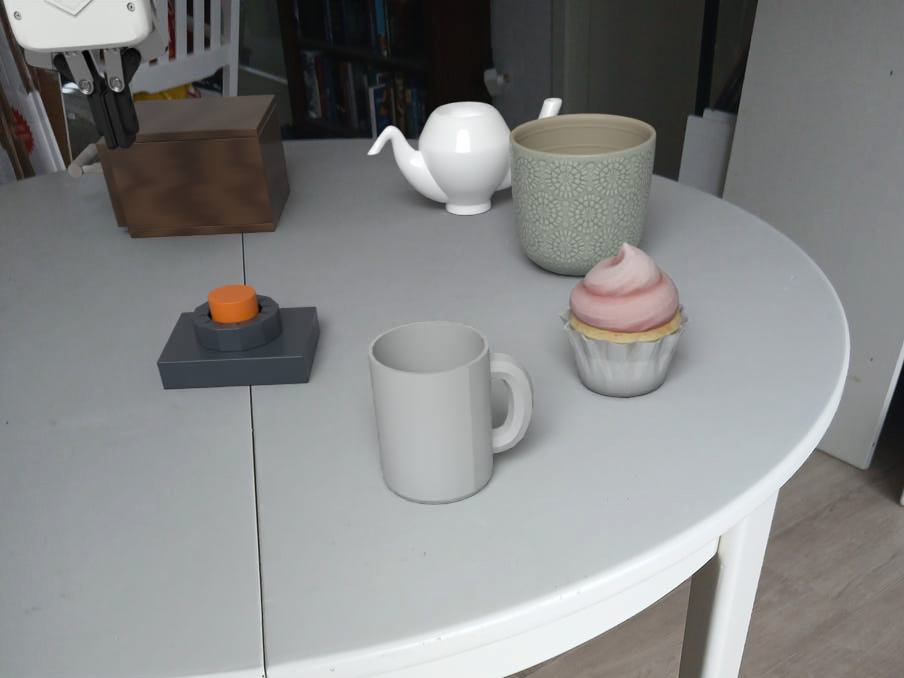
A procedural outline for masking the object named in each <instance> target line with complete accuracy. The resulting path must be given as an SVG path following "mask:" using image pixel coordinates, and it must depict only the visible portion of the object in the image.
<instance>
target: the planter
mask: <svg viewBox="0 0 904 678" xmlns="http://www.w3.org/2000/svg"><path fill="white" fill-rule="evenodd" d="M656 142H657V132H656V129H655V128H654V127H653V126H652V125H651V124H649V123H647V122H645V121H642V120H639V119H637V118H633V117H629V116H623V115H616V114H607V113H569V114H568V113H567V114H560V115H559V114H558V115H557V116H551V117H545V118H541V119H538V118H537V119H532V120H530V121H527V122H525V123H522V124H520V125H518V126H516V127H515V128H514V129H512V130H511V133H510V135H509V157H510V173H511V185H512V186H511V194H512V204H513V213H514V214H513V215H514V221H515V228H516V235H517V239H518V242H519V245H520V247H521V248H522V251H523V252H524V253H525V255H526V256H527V257H528V258H529V259H530V261H532V262H534V263H535V264H536V265H538V266H539V267H541V268H542V269H544V270H546V271H548V272H551V273H554V274H558V275H564V276H574V277H575V276H576V277H579V276H580V277H581V276H586V274H587V273H588V272H589V271H590V270H591V269H592V268H593V267H594V266H595V265H596V264H598V263H599V262H600V261H602V260H604V259H606V258H609V257H614V256H618V253H619V250H620V249H621V247H622V245H623V243H628V244H630V245H632V246H634V247H637V248H638V246H639V244H640V241H641V239H642V236H643V232H644V227H645V224H646V223H645V222H646V218H647V212H648V206H649V201H650V192H651V186H652V180H653V172H654V165H655V154H656V144H657V143H656Z"/></svg>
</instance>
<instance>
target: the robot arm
mask: <svg viewBox="0 0 904 678" xmlns="http://www.w3.org/2000/svg"><path fill="white" fill-rule="evenodd" d="M2 1H3V4H4V9H5V12H6V16H7V19H8V21H9V25H10V28H11V30H12V33H13V35H14V38H15V41H16V42H17V43H18V45H19V46H21V47H22V48H23V50H24V51H23V52H24V60H25V62H26V63H27V64H28V65H30V66H32V67H37V68H40V69H45V70H46V69H47V70H55V71H58V72H59V73H60V74H62V75H63V76H64V77H66V79H68V80H69V81H70V82H72V83H73V84H74V85H76V87H77V89H78V90H79V92H80V93H81V94H84V95H86V98H87V101H88V105H89V108H90V112H91V115H92V118H93V122H94V125H95V129H96V132H97V134H98V136H100V137H103V136H104V137H105V141H106V144H107V147H108V149H109V150H113V149H116V148H117V147H121V148H122V149H126V148H130V146H131V145H132V144H133V143H134V141H135V140H136V133H138V132H139V122H138V118H137V114H136V111H135V107H134V103H135V102H134V99H133V96H132V92H131V89H130V88H131V87H130V83H131V82H132V80H133V78H134V76H135V74H136V72H137V71H138V69H139V67H140V66H141V65H143V64H146V63H148V62H151V61H153V60H156V59H158V58H161V57H163V56H164V55H165V54H167V52H168V51H169V43H168V41H167V39H166V36H165V33H163V30H162V27H161V25H160V12H159V6H158V2H157V0H2ZM92 50H103V57H104V64H105V71H106V72H105V73H106V79H107V81H106V80H105V78H104V77H103V75H102V73H101V70H100V68H99V66H98V64H97V62H96V58H95V56H94V54H93V51H92Z"/></svg>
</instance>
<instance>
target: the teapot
mask: <svg viewBox="0 0 904 678" xmlns="http://www.w3.org/2000/svg"><path fill="white" fill-rule="evenodd" d="M562 104H563V100H562V99H561V98H559V97H550V98H546V99H545V100H543V104H542V107H541V110H540V113H539V115H538V117H537V119H541V118H545V117H551V116H558V115H559V112H560V110H561V109H562V108H561V107H562ZM511 132H512V130H511V129H510V128H509V126H508V124H507V122H506V121H505V119H504V117H503V115H501V113H500V111H499V110H498V109H497V108H495V106H493V105H491V104H488V103H485V102H481V101H458V102H452V103H447V104H443V105H440V106H438V107H436V108H435V109H434V110H433V111H432V112H431V113H430V115H429V116H428V118H427V120H426V122H425V124H424V126H423V129H422V131H421V132H420V135H419V138H418V141H417V149H414V148H413V147H412V146H411V145H410V143H408V141H407V139H406V137H405V136H404V134H403V133H402V131H401V130H400V129H399V128H398V127H396V126H394V125H388V126H386V127H385V128H384V129H383V131H382V132H381V133H380V134H379V136H378V137H377V139H376V140H375V141H374V143H373V145H372V146H371V147H370V149H369V150H368V152H367V153H366V154H367V155H368V156H373V155H377V154H380V153H381V152H382V150H383V148H384V146H385V145H386V143H387V142H388V141H390V142H391V146H392V151H393V155H394V156H393V157H394V159H395V163H396V165H397V167H398V169H399V171H400V172H401V174H402V175H403V177H404V178H405V179H406V181H407V182H408V183H409V185H410V186H411V187H412V188H414V189H415V191H416V192H417V193H419V194H421V195H422V196H424V197H426V198H427V199H429V200H431V201H434V202H437V203H441V204H445V210H446V212H448V213H451V214H453V215H457V216H475V215H479V214H483V213H486V212H488V211H490V209H491V208H492V202H491V198H492V196H493V195H494V194H495V192H499V191H503V190H507V189H509V188H511V187H512V185H511V173H510V157H509V135H510V133H511Z"/></svg>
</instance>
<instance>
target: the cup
mask: <svg viewBox="0 0 904 678" xmlns="http://www.w3.org/2000/svg"><path fill="white" fill-rule="evenodd" d="M489 342H490V341H489V339H488V337H487V335H485V334H484V332H482V331H481V330H479V329H478V328H476V327H473V326H471V325H468V324H465V323H460V322H455V321H449V320H425V321H423V320H422V321H416V322H409V323H404V324H401V325H397V326H395V327H392V328H389V329H387V330H385V331H383V332H381V333H379V334H378V335H377V336H376V337H375V338H373V339H372V340H371V342H370V343H369V345H368V347H367V356H368V357H367V358H368V366H369V375H370V382H371V383H370V384H371V390H372V400H373V406H374V407H373V408H374V415H375V416H374V417H375V424H376V431H377V440H378V449H379V456H380V466H381V471H382V477H383V480H384V481H385V483H386V485H387V487H389V489H390V490H391V491H392V492H394V493H395V494H396V495H397V496H398V497H401V498H403V499H404V500H406V501H410V502H413V503H418V504H426V505H443V504H449V503H450V504H451V503H454V502H459V501H463V500H465V499H467V498H470V497H472V496H474V495H475V494H477V493H479V492H480V491H481V490H482V489H483V488H484V487H485V485H486V484H488V482H489V481H490V479H491V478H492V474H493V471H494V454H498V453H503V452H505V451H507V450H509V449H511V448H514V447H515V446H516V445H517V444H519V442H520V441H521V440H522V439H523V438H524V436H525V434H526V432H527V430H528V428H529V426H530V423H531V419H532V415H533V410H534V388H533V383H532V379H531V376H530V374H529V371H527V368H526V366H525V365H524V364H523V363H522V362H521V361H520V360H519V359H517V358H516V357H514V356H513V355H512V354H511V355H510V354H506V353H502V352H490V343H489ZM496 379H501V380H502V382H503V384H504V386H505V388H506V391H507V397H508V409H507V415H506V417H505V420H504V421H503V422H502V424H500V425H498V426H496V427H493V419H492V417H493V415H492V393H491V392H492V391H491V390H492V389H491V388H492V387H491V380H496Z"/></svg>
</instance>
